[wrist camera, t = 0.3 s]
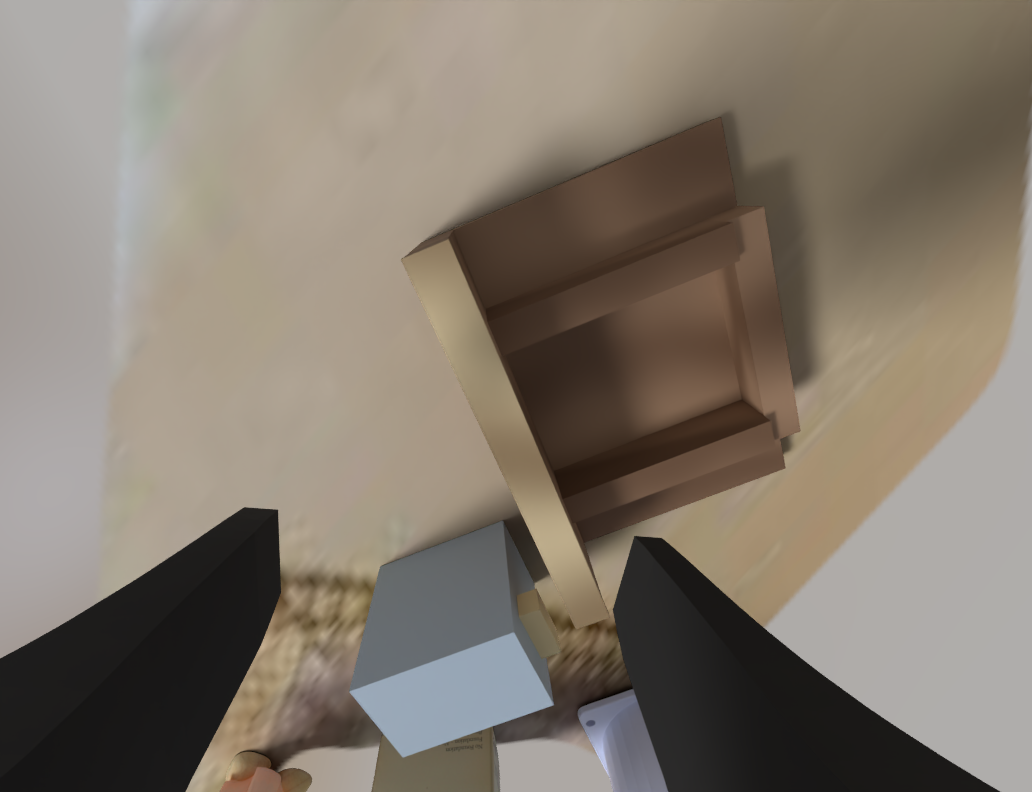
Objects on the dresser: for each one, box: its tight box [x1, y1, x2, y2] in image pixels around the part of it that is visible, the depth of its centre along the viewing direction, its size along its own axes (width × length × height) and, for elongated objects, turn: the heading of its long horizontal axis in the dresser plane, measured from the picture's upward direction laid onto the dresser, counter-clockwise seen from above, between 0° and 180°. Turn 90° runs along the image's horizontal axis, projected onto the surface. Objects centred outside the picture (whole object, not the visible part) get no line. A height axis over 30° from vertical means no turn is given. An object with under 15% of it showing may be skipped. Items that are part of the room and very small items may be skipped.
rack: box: [401, 117, 800, 629], centre depth 17 cm, size 14×10×5 cm
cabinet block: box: [349, 521, 561, 757], centre depth 19 cm, size 4×7×6 cm, turn 111°
